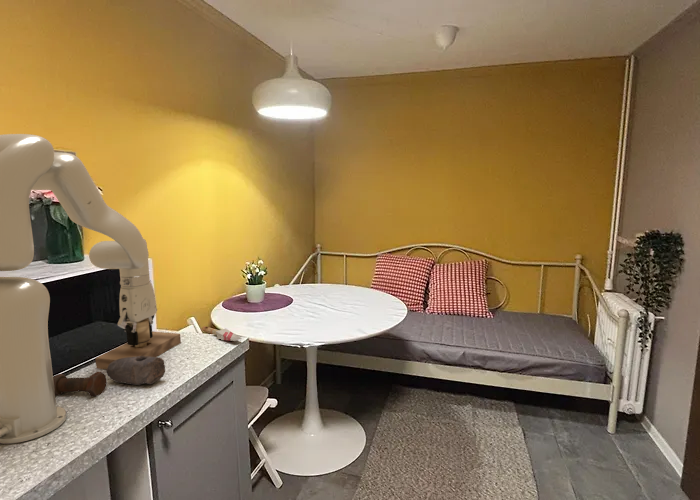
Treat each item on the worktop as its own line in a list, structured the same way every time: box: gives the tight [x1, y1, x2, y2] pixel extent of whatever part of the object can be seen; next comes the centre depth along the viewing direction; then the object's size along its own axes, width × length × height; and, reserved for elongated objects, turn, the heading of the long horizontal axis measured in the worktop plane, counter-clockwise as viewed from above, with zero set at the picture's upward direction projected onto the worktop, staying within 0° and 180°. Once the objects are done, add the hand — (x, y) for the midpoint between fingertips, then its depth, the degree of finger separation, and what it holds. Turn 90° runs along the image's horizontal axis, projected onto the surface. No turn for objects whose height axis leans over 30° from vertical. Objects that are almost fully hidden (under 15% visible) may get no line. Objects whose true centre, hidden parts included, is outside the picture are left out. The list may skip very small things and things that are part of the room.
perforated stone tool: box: [106, 356, 166, 386], centre depth 108 cm, size 15×5×7 cm, turn 81°
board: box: [95, 330, 182, 371], centre depth 126 cm, size 22×11×3 cm, turn 167°
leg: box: [130, 319, 150, 348], centre depth 125 cm, size 5×5×8 cm
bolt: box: [53, 371, 108, 398], centre depth 103 cm, size 6×5×15 cm
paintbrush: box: [201, 325, 243, 342], centre depth 140 cm, size 4×3×20 cm
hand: (140, 340), depth 125 cm, fingers open, 5 cm apart
